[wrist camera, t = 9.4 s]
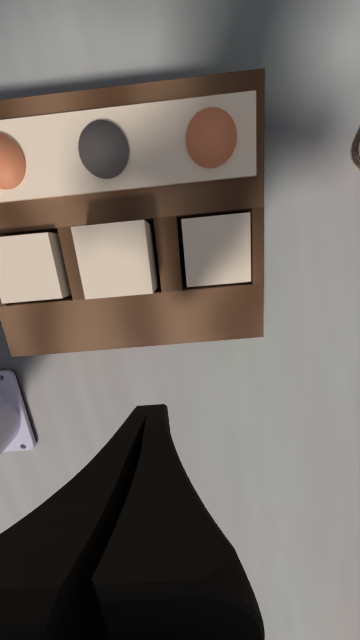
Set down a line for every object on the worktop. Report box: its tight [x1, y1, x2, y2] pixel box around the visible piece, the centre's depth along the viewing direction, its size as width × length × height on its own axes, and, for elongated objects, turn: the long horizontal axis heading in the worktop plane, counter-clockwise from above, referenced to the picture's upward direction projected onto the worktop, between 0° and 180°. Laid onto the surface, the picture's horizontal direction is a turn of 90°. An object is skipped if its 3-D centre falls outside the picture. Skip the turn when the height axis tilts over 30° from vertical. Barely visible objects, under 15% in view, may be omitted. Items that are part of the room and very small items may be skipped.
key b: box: [71, 220, 158, 300], centre depth 15 cm, size 4×4×3 cm
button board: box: [0, 68, 265, 357], centre depth 16 cm, size 18×15×2 cm
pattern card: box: [0, 90, 256, 203], centre depth 14 cm, size 17×4×1 cm, turn 95°
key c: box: [181, 212, 251, 287], centre depth 16 cm, size 4×4×3 cm
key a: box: [0, 232, 72, 304], centre depth 16 cm, size 4×4×3 cm
